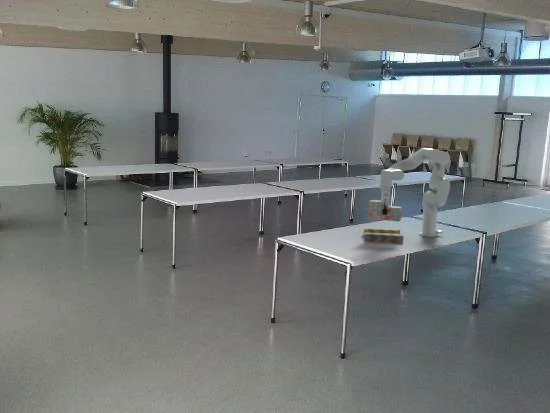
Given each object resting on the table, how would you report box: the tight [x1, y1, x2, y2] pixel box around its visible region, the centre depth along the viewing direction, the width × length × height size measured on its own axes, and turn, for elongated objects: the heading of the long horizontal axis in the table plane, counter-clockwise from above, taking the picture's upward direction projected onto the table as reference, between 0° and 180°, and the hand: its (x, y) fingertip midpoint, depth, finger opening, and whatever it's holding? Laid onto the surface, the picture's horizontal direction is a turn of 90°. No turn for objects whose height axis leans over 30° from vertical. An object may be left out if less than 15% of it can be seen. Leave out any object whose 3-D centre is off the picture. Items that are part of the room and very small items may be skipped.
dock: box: [363, 227, 404, 244], centre depth 370 cm, size 25×19×5 cm
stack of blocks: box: [367, 199, 403, 223], centre depth 367 cm, size 21×6×12 cm, turn 65°
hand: (384, 213), depth 367 cm, fingers closed on stack of blocks, 7 cm apart
